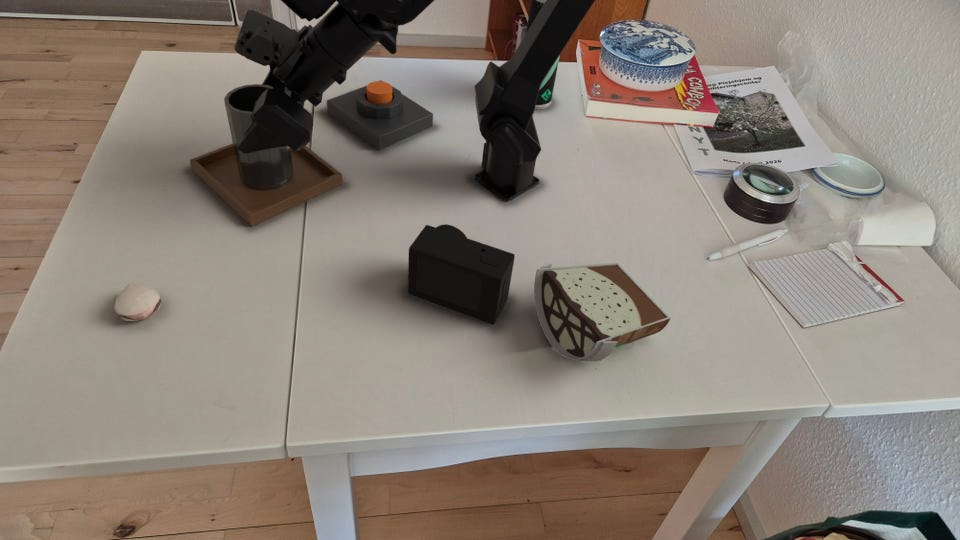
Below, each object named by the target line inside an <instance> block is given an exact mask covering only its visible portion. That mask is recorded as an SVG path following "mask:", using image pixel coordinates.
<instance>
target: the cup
mask: <svg viewBox="0 0 960 540" xmlns="http://www.w3.org/2000/svg"><path fill="white" fill-rule="evenodd" d="M268 88H274V87H271V86H269V85H262V84H260V83H254V84H252V83H251V84H245V85H241V86H237V87H235V88H233V89H232V90H230V91H228V92H227V94H226V95H225V96H224V99H223V100H224V108H225V112H226V117H227V122H228V127H229V132H230V136H231V141H232V143H233V146H234V151H235V156H236V161H237V166H238V170H239V175H240V179H241V181H242V182H243V184H245V185H246V186H247V187H249V188H252V189H256V190H272V189H277V188H280V187H282V186H284V185H286V184H287V183H288V182H289V181H290V180H291V179H292V177H293V163H292V156H291V149H290V147H288V146H285V147H276V148H271V149H265V150H261V151H256V152H251V153H246V154H244V153H242V152H241V151H240V150H238V145H239V144H240V142H241V141H242V139H243V138H244V136H245V135H246V133H247V132H248V130H249V129H250V128H251V126H252V125H253V123H254V122H255V120H254V119H253V117H252V111H253V108H254V104H255V101H256V100H258V99H259V98H260V96H261V95H262V94H263V93H264V92H265V91H266V90H267V89H268ZM274 89H277V88H274Z"/></svg>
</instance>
